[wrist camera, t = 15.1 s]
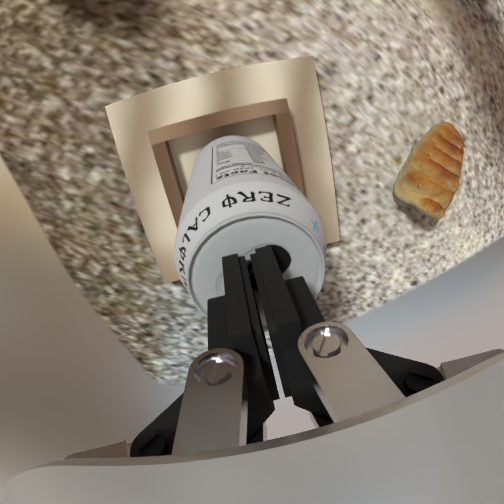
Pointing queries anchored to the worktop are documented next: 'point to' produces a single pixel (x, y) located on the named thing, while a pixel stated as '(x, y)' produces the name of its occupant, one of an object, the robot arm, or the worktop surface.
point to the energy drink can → (244, 221)
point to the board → (216, 126)
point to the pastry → (432, 171)
